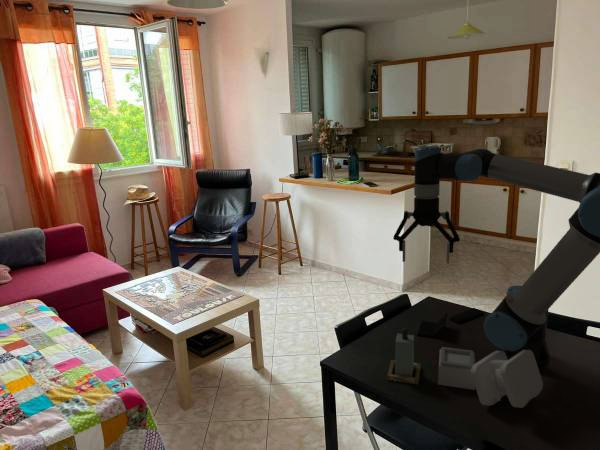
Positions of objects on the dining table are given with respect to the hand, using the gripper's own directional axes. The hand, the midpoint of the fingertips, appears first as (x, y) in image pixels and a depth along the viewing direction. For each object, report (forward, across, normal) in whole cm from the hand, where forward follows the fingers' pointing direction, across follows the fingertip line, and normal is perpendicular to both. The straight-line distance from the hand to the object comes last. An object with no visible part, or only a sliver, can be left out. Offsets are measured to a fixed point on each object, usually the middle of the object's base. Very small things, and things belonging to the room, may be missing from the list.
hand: (425, 261), depth 144 cm
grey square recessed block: (+30, -9, +17) cm, 36 cm away
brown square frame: (+30, +6, +18) cm, 36 cm away
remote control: (+31, -16, -25) cm, 43 cm away
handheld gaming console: (+30, -3, -11) cm, 33 cm away
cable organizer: (+29, -23, +28) cm, 46 cm away
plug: (+30, +6, +18) cm, 36 cm away
